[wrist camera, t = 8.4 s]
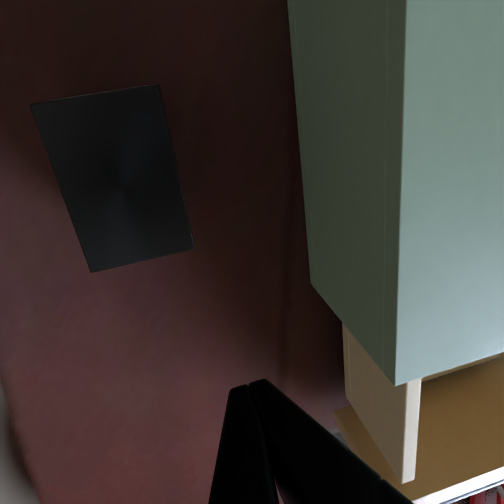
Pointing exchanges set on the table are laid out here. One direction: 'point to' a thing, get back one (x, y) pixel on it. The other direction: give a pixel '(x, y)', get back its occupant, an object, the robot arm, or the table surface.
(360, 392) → the drawer
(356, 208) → the cabinet
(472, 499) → the tracker holder
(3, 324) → the table surface
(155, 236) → the black lidded box
